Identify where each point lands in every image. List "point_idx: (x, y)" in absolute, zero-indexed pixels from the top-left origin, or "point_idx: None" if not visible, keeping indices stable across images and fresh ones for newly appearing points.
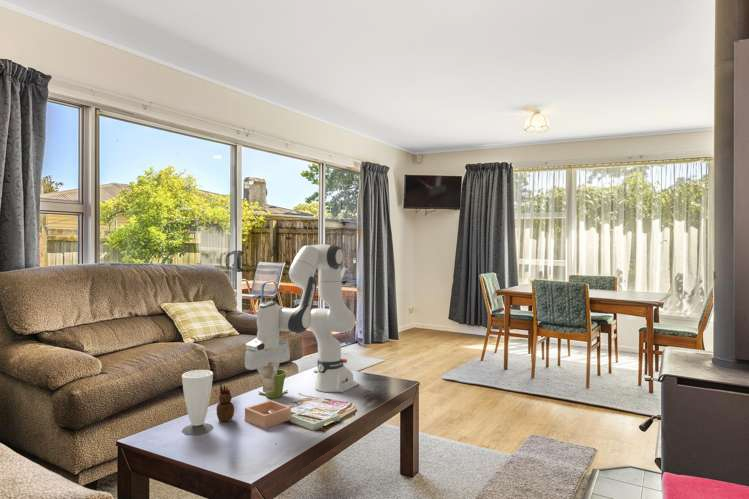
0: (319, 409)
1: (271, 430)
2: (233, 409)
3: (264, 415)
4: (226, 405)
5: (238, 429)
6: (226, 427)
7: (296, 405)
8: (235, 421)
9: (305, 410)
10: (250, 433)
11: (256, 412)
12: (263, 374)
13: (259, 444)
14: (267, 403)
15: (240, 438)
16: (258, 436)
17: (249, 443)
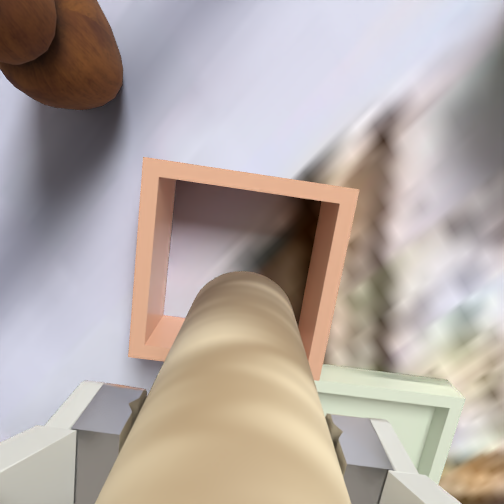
0: (440, 429)
1: (157, 361)
2: (88, 97)
3: (134, 351)
4: (6, 70)
5: (65, 229)
6: (39, 156)
7: (488, 234)
8: (122, 129)
9: (388, 392)
10: (73, 311)
11: (138, 279)
12: (83, 486)
13: (27, 419)
14: (312, 199)
15: (8, 316)
16: (76, 362)
17: (4, 382)
